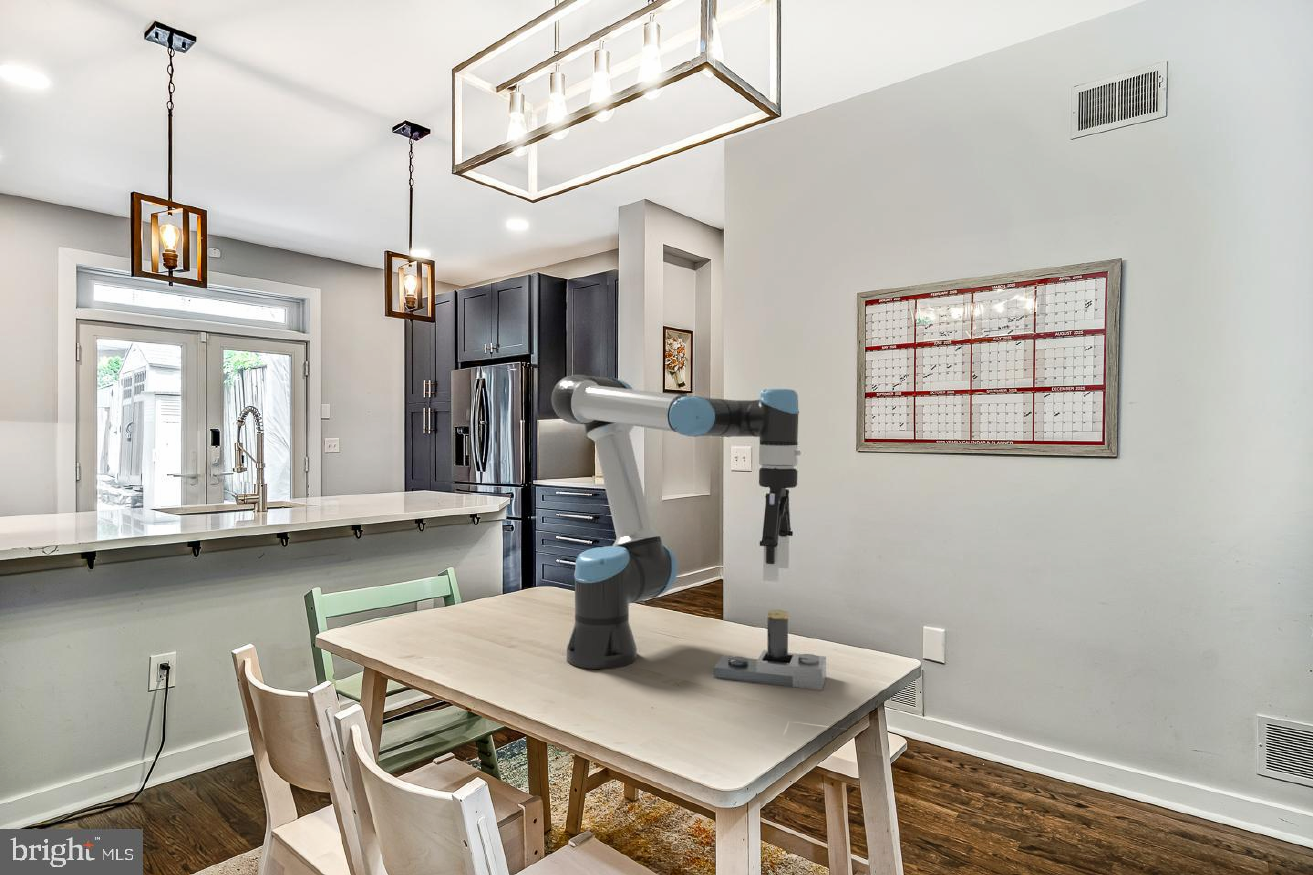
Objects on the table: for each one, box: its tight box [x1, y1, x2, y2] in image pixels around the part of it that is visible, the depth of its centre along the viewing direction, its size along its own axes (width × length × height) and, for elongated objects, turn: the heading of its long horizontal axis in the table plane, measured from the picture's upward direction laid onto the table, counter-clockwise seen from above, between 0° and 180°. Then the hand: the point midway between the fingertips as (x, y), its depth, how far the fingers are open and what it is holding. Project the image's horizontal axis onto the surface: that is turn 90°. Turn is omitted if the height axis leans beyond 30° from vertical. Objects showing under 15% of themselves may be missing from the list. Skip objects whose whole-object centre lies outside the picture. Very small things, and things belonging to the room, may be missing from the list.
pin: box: [766, 609, 789, 663], centre depth 135 cm, size 4×4×13 cm
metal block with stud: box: [713, 649, 827, 691], centre depth 136 cm, size 21×8×5 cm, turn 71°
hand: (776, 574), depth 136 cm, fingers open, 13 cm apart
